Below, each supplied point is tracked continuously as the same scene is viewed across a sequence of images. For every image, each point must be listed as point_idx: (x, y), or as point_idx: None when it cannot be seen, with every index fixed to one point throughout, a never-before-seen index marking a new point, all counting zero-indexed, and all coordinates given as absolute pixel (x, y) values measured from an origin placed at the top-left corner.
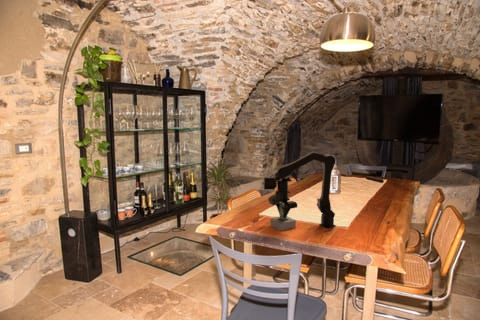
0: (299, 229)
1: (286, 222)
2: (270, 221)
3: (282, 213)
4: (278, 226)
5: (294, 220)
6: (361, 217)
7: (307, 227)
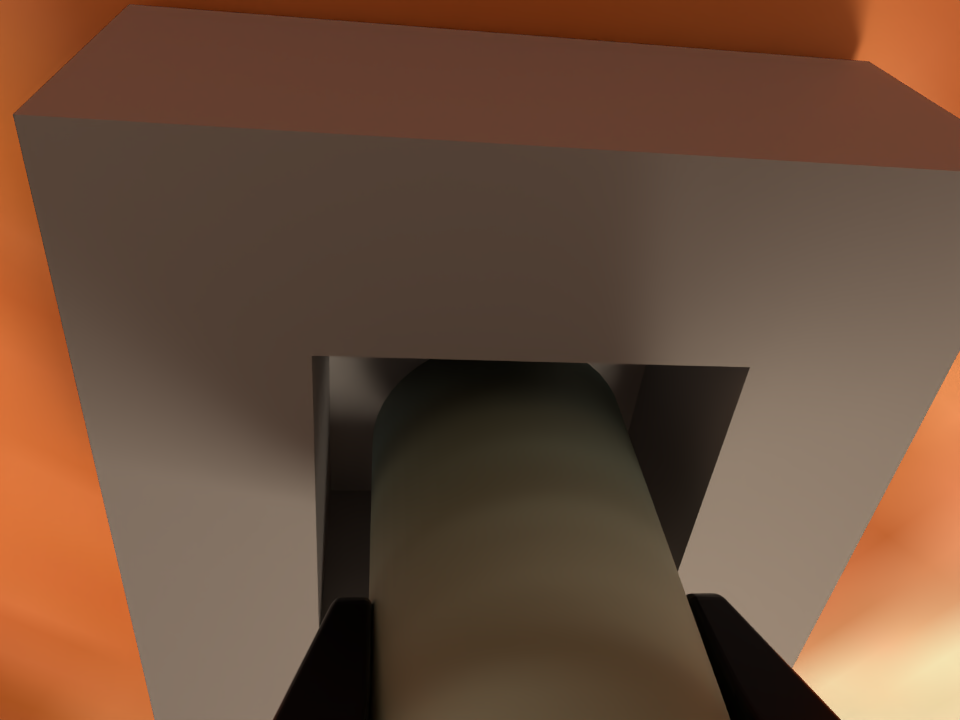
0: (46, 542)
1: (94, 444)
2: (944, 117)
3: None
4: (278, 59)
5: (169, 717)
6: None
7: (99, 705)
